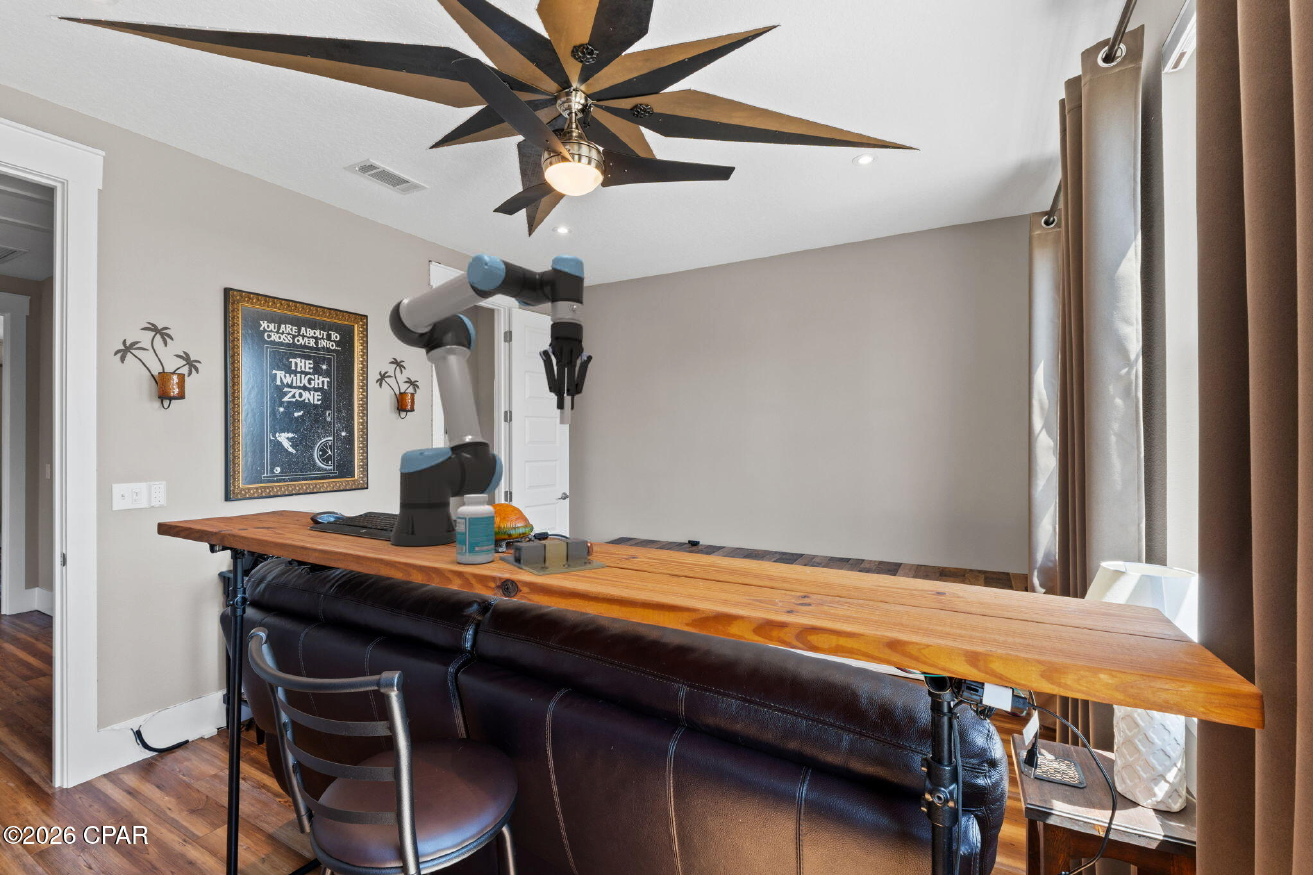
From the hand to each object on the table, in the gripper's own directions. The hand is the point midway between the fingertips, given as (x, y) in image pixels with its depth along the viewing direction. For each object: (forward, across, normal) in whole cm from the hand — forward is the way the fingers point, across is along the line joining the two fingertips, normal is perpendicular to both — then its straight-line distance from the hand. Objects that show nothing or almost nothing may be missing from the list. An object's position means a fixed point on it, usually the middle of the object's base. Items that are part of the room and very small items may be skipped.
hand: (565, 424), depth 135 cm
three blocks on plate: (+29, -10, -15) cm, 34 cm away
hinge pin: (+29, -9, -15) cm, 34 cm away
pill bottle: (+29, -22, -5) cm, 37 cm away
